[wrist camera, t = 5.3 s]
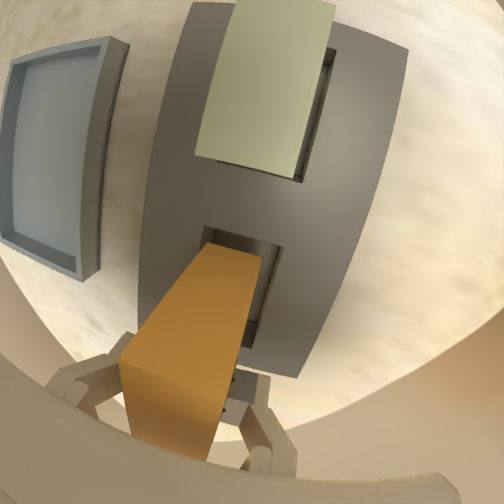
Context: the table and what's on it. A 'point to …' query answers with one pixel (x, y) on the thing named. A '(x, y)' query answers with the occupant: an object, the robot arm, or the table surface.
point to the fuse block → (270, 186)
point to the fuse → (265, 83)
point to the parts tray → (58, 152)
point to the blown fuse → (189, 352)
